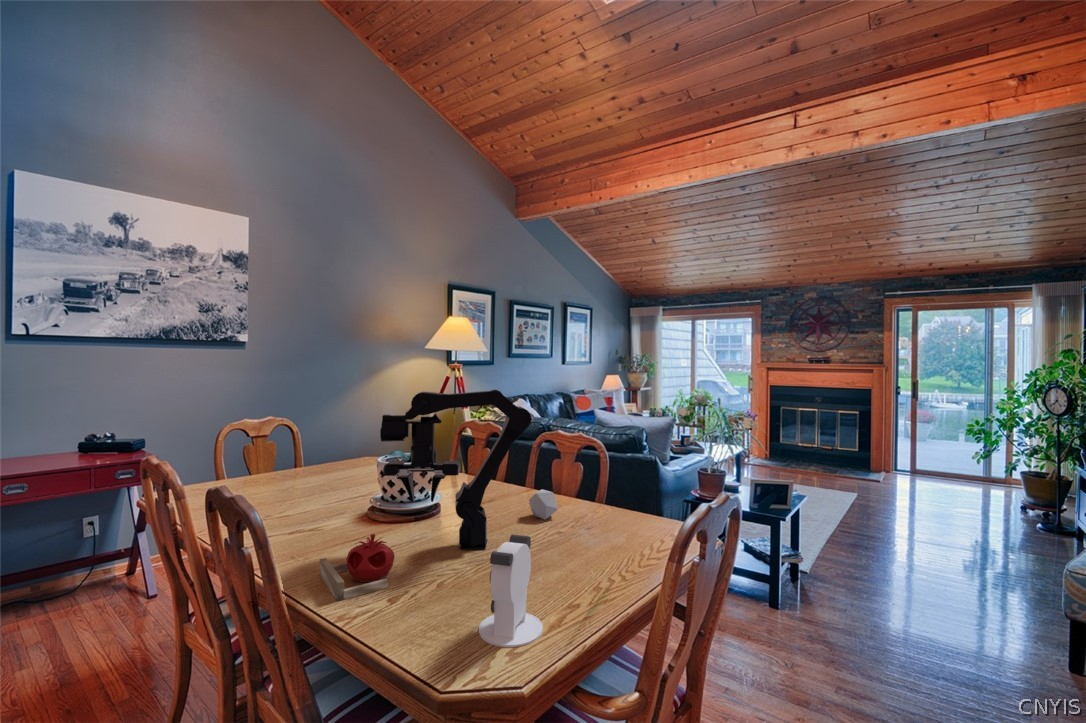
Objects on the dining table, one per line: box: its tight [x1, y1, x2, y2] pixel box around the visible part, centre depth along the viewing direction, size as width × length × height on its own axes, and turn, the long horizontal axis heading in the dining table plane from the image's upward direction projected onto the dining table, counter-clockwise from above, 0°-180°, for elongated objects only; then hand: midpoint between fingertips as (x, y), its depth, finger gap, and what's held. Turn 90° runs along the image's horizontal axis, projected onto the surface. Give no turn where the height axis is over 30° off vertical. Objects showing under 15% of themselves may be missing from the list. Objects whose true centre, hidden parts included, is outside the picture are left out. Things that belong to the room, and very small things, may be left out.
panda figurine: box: [478, 534, 544, 648], centre depth 88 cm, size 12×11×15 cm
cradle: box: [319, 557, 389, 602], centre depth 106 cm, size 10×15×4 cm, turn 37°
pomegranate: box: [345, 533, 396, 583], centre depth 109 cm, size 10×10×9 cm
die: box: [528, 489, 559, 521], centre depth 153 cm, size 8×9×10 cm
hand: (422, 501), depth 126 cm, fingers open, 5 cm apart
